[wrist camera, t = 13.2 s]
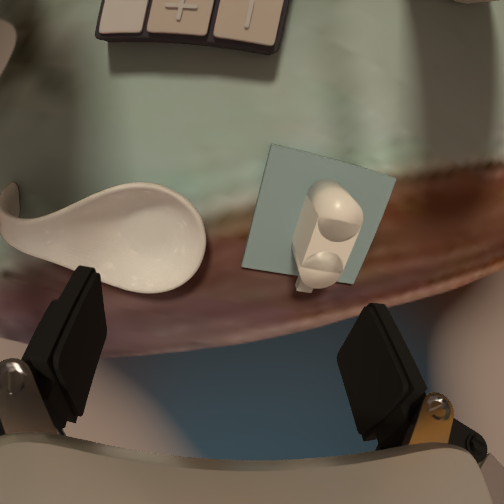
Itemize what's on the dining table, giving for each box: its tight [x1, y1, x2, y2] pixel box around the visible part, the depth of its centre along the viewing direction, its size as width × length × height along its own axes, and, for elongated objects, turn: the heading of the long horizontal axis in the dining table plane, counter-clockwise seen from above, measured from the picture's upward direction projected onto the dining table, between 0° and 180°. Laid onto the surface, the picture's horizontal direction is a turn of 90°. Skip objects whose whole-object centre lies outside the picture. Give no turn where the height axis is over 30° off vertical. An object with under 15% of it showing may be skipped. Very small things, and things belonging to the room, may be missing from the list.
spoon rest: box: [0, 182, 206, 293], centre depth 27 cm, size 24×12×7 cm, turn 76°
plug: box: [291, 179, 363, 293], centre depth 29 cm, size 11×4×5 cm, turn 167°
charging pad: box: [242, 144, 396, 284], centre depth 31 cm, size 13×13×1 cm
